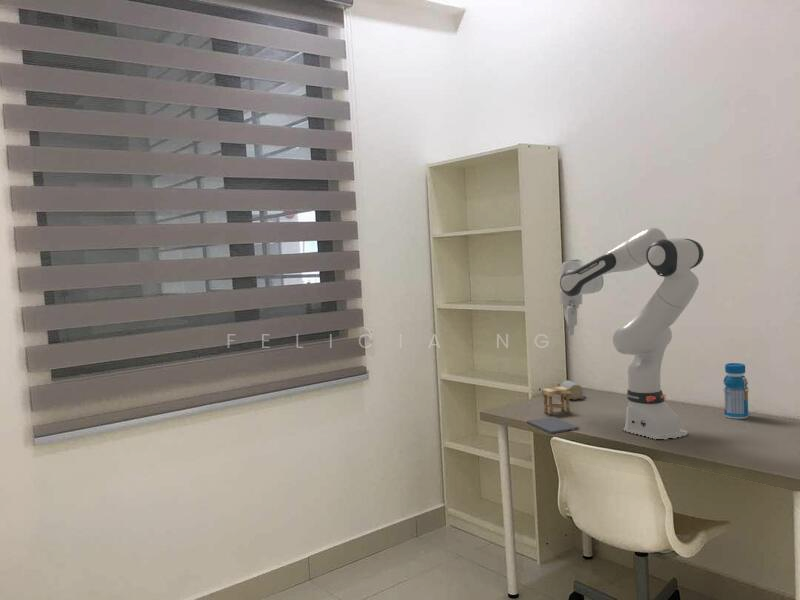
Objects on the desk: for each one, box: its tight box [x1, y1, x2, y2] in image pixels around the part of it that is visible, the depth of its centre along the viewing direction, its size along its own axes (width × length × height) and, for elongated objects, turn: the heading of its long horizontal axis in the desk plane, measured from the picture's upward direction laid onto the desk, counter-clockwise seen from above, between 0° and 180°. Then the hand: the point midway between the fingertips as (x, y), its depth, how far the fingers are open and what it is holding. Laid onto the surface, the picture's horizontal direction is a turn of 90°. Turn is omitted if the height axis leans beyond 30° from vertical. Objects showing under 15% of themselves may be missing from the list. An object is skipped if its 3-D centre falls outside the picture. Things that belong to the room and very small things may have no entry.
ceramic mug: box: [559, 380, 587, 401], centre depth 289 cm, size 11×8×8 cm
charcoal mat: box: [526, 416, 580, 435], centre depth 246 cm, size 18×12×1 cm, turn 18°
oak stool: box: [541, 386, 571, 417], centre depth 265 cm, size 10×6×10 cm, turn 108°
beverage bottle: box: [722, 362, 750, 420], centre depth 243 cm, size 8×8×20 cm
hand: (570, 332), depth 263 cm, fingers open, 8 cm apart
